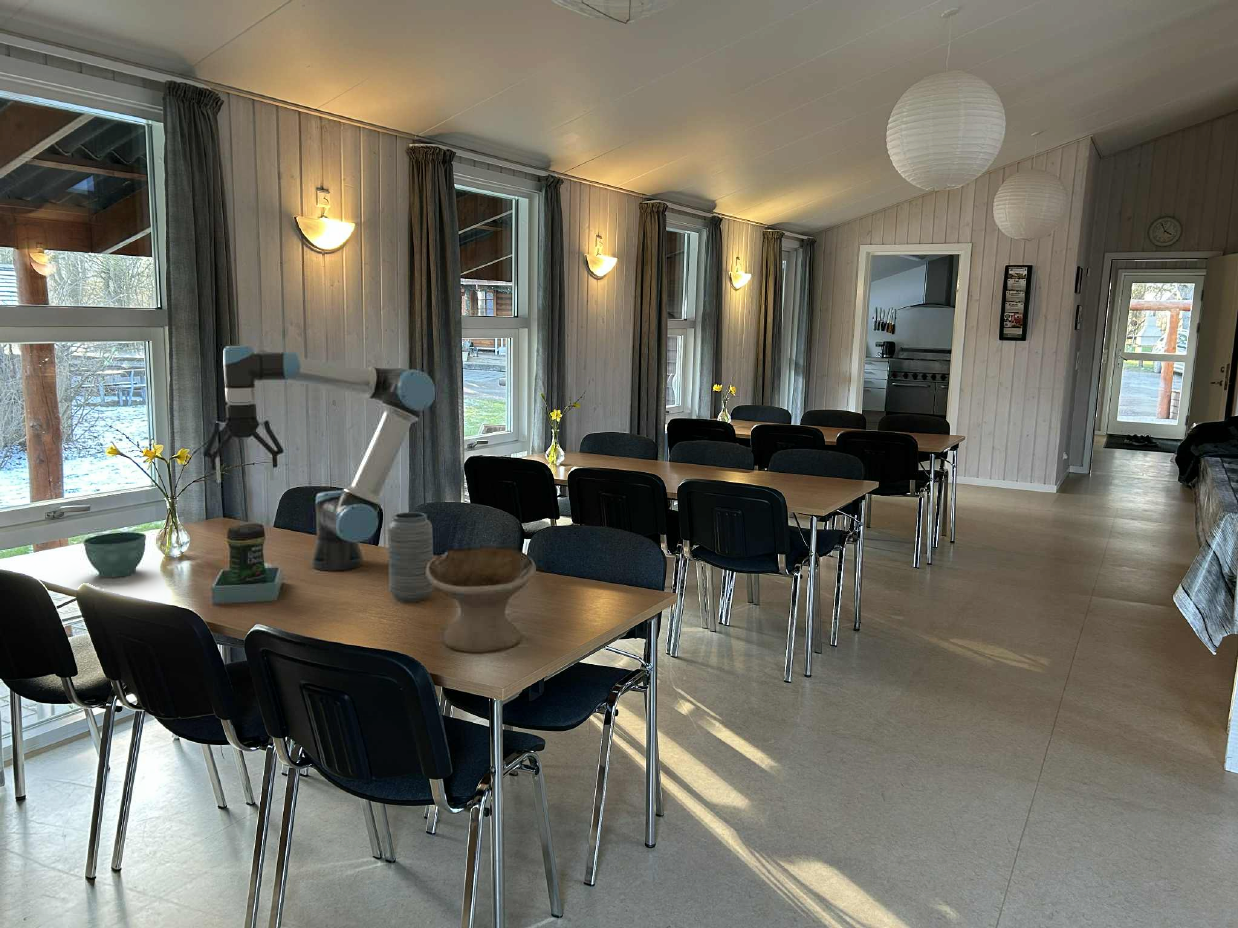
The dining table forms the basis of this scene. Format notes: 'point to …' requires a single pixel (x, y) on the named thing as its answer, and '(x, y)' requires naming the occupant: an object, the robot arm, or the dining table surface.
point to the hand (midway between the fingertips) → (245, 480)
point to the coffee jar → (246, 554)
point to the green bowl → (115, 553)
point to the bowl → (481, 594)
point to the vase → (409, 556)
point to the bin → (247, 588)
